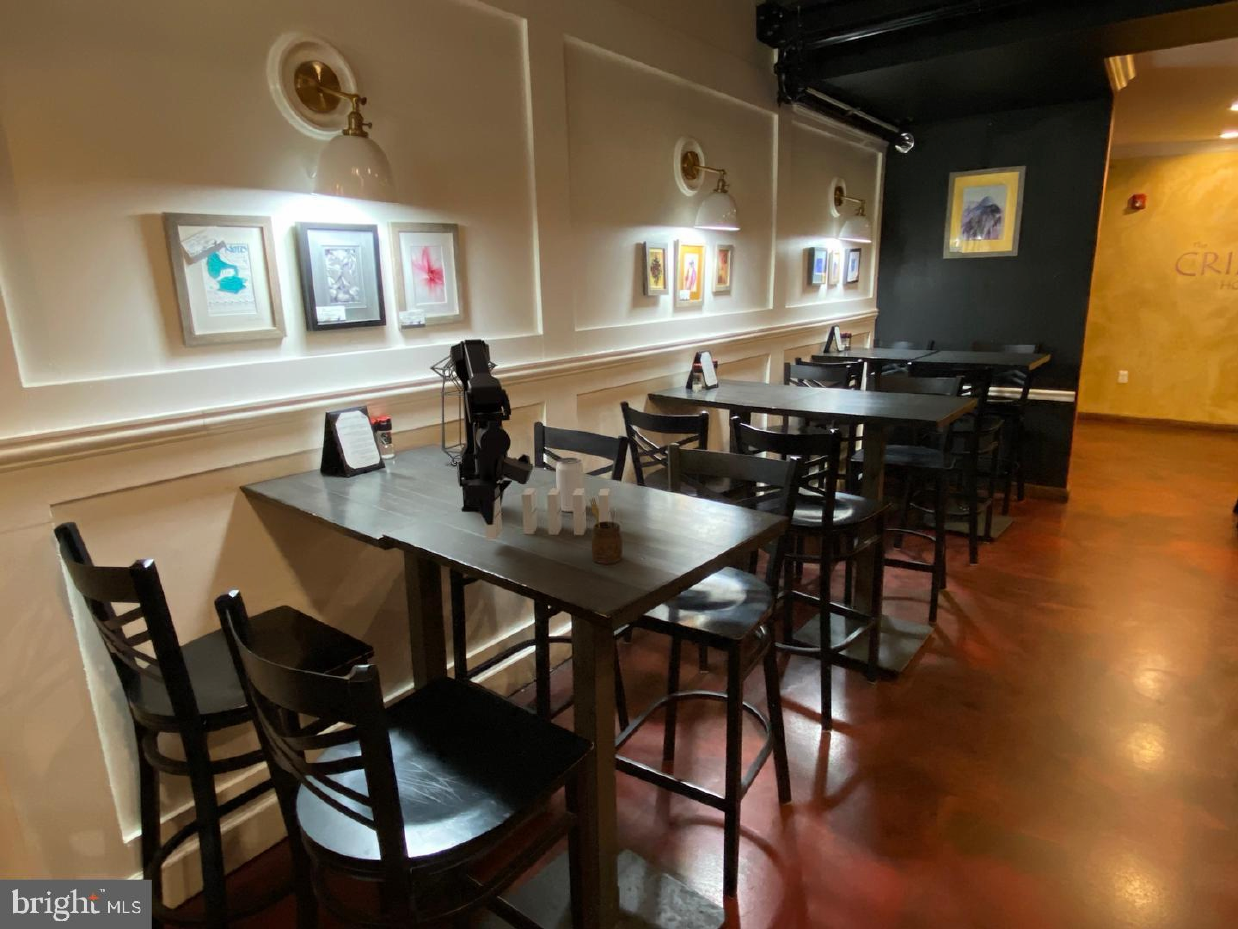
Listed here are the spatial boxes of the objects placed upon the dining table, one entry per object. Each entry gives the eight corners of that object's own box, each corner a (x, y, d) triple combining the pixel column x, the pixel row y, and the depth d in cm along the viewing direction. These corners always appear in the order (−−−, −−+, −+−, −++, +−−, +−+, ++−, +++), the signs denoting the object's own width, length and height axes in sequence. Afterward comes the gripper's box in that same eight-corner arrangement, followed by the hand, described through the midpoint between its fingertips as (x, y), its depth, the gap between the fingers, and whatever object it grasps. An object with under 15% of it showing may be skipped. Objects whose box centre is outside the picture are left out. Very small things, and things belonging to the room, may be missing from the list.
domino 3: (548, 534, 154) (546, 494, 152) (552, 526, 159) (551, 488, 157) (558, 534, 154) (556, 494, 152) (562, 527, 159) (560, 488, 157)
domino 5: (598, 535, 154) (598, 495, 151) (601, 527, 158) (600, 488, 156) (608, 535, 153) (607, 495, 151) (610, 527, 158) (610, 488, 156)
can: (580, 513, 168) (578, 464, 165) (554, 511, 170) (552, 463, 167) (587, 505, 175) (585, 457, 172) (561, 503, 176) (559, 456, 173)
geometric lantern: (433, 467, 214) (424, 349, 206) (464, 456, 228) (456, 346, 221) (477, 470, 208) (470, 349, 200) (506, 459, 222) (499, 346, 215)
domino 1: (486, 538, 145) (483, 496, 143) (492, 530, 150) (489, 489, 148) (496, 538, 145) (493, 496, 143) (502, 530, 150) (499, 489, 147)
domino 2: (523, 534, 155) (521, 494, 153) (528, 526, 160) (526, 488, 158) (533, 534, 155) (531, 494, 153) (537, 526, 160) (535, 488, 157)
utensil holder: (612, 567, 136) (610, 507, 133) (584, 560, 139) (583, 502, 136) (628, 557, 141) (627, 499, 138) (601, 551, 144) (600, 494, 141)
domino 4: (573, 534, 154) (572, 495, 152) (577, 527, 159) (575, 488, 157) (583, 535, 154) (582, 495, 152) (586, 527, 159) (585, 488, 156)
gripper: (517, 458, 133) (522, 536, 137) (537, 437, 151) (540, 507, 155) (459, 457, 134) (465, 535, 138) (486, 436, 152) (490, 506, 156)
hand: (493, 520), depth 147 cm, fingers closed on domino 1, 5 cm apart
